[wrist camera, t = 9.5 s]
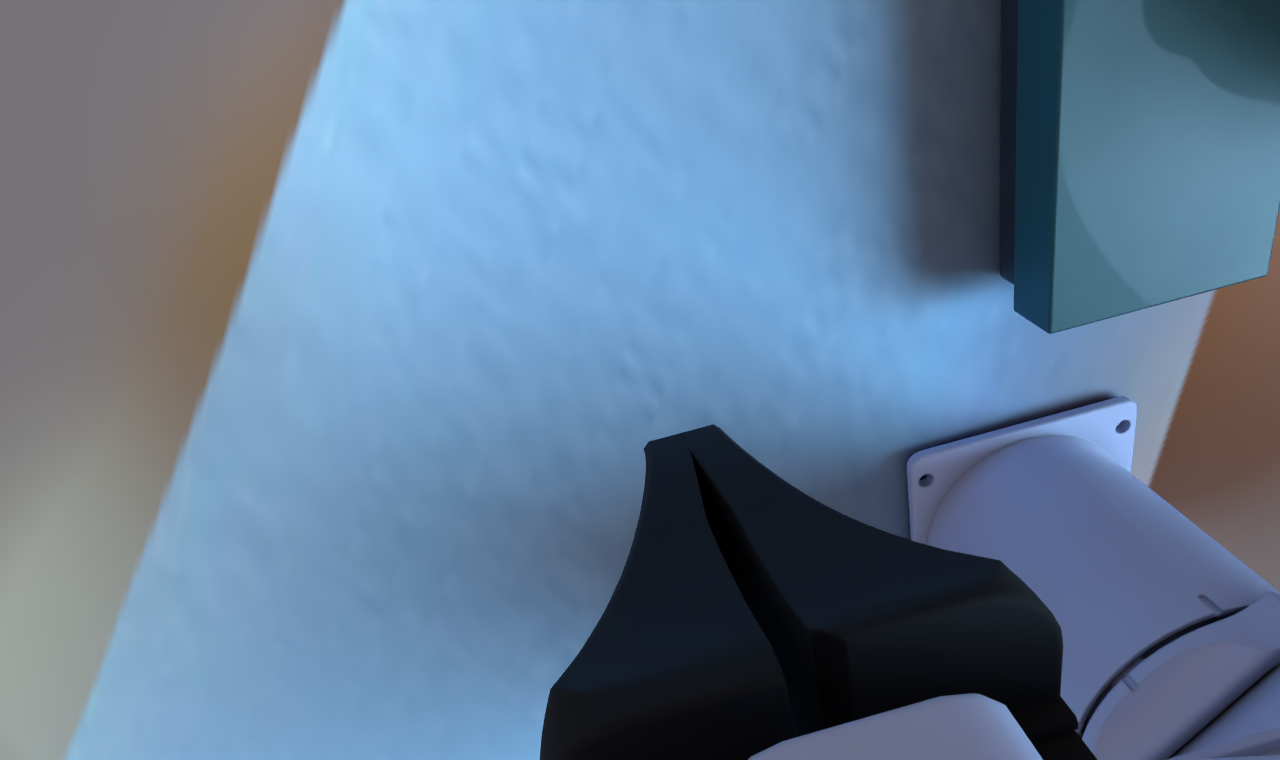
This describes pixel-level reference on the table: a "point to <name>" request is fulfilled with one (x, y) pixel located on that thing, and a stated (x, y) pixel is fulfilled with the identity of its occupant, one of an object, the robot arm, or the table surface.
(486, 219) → the table surface
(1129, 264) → the teal flat panel
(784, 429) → the table surface
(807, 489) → the table surface
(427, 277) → the table surface
